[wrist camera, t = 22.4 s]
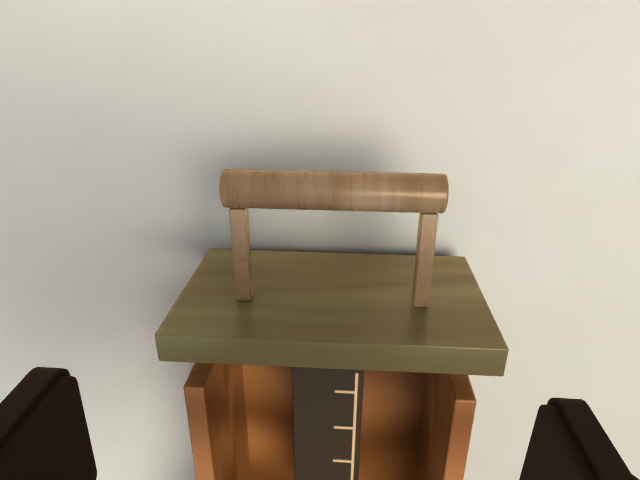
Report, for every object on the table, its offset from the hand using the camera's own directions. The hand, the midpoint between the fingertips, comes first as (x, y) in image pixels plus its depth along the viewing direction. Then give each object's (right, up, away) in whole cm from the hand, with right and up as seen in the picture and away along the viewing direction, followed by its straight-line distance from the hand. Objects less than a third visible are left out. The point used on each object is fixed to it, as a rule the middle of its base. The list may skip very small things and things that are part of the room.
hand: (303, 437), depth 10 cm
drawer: (+1, -2, +16) cm, 16 cm away
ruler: (+1, -4, +16) cm, 17 cm away
